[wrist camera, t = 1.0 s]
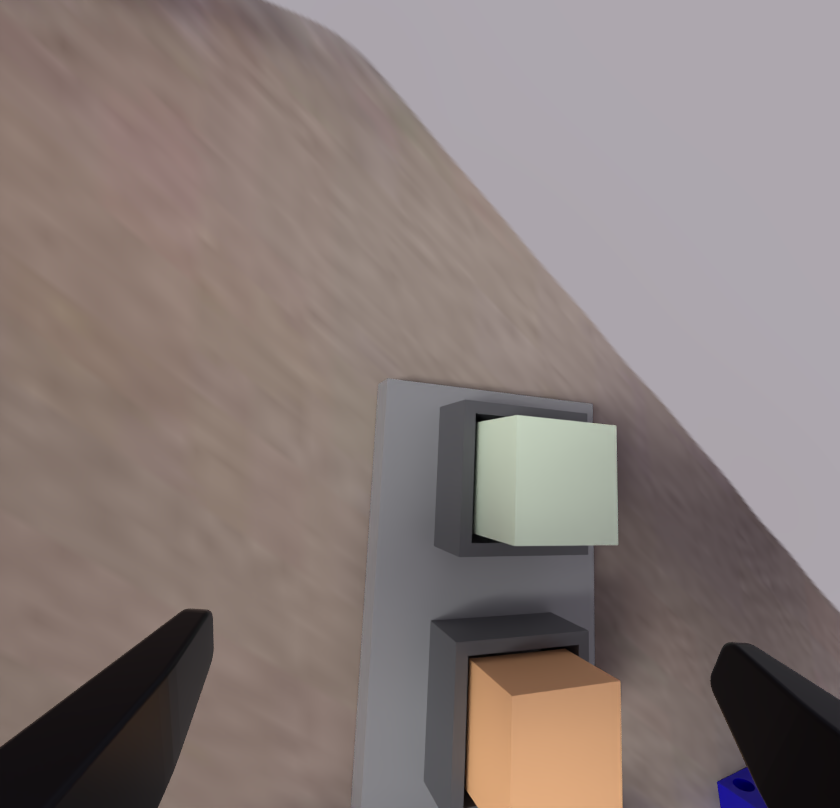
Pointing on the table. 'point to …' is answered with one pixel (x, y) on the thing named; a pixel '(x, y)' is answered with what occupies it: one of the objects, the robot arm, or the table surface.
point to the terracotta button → (543, 732)
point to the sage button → (546, 482)
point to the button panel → (447, 592)
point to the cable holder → (739, 791)
